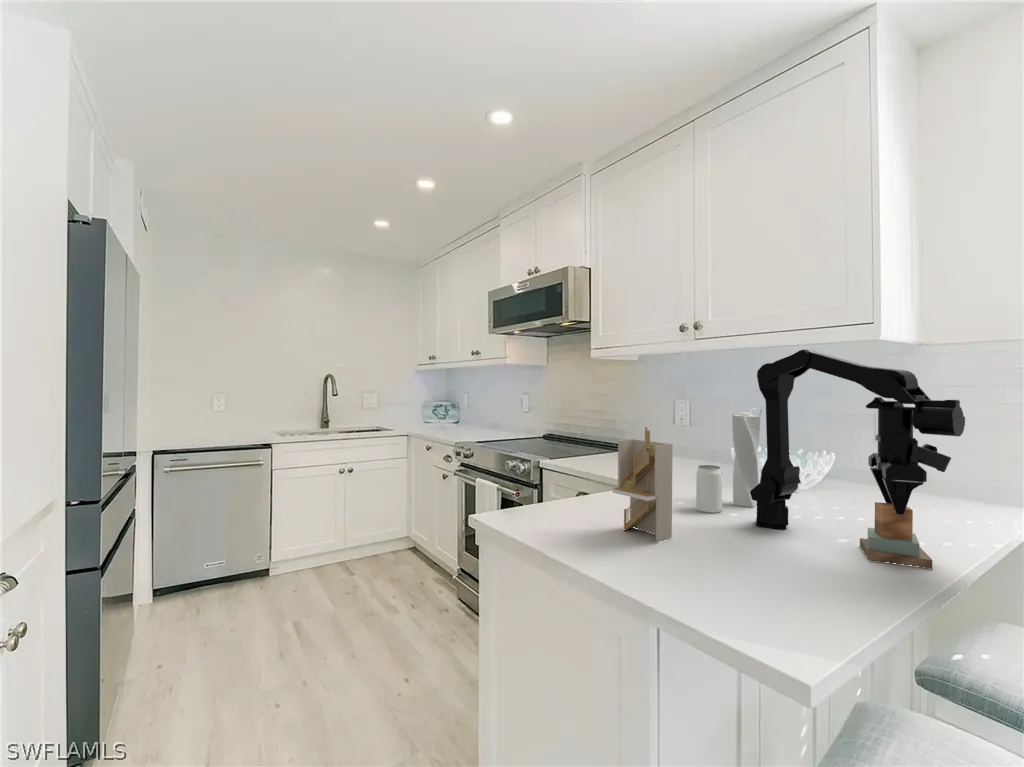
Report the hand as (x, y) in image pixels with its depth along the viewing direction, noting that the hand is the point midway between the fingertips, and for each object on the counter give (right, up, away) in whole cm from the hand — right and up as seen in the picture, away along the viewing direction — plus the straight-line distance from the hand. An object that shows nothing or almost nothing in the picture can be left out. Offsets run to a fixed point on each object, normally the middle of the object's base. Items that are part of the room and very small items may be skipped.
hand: (894, 509), depth 103 cm
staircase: (-47, -10, +14) cm, 50 cm away
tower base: (0, -11, 0) cm, 11 cm away
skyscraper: (-10, -10, +43) cm, 45 cm away
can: (-23, -10, +36) cm, 44 cm away
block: (0, -6, 0) cm, 6 cm away
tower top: (0, -8, +1) cm, 8 cm away
